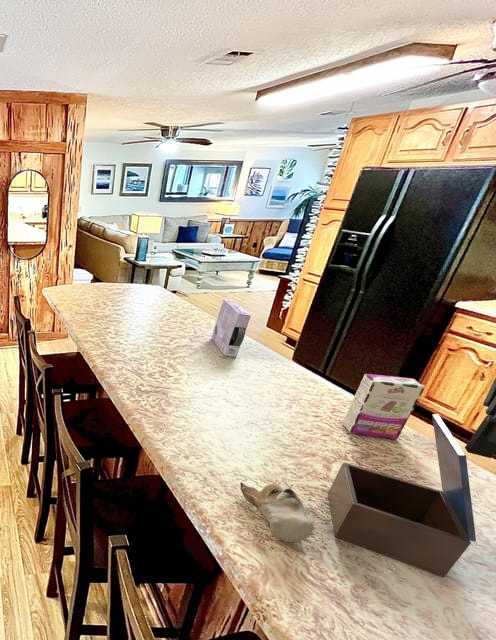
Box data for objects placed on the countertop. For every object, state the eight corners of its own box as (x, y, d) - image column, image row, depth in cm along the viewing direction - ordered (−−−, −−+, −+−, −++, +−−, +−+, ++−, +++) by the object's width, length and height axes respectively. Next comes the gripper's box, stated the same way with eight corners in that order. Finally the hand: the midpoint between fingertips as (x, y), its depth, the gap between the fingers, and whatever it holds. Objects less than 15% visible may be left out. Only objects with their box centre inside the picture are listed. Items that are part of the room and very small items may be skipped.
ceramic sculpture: (276, 512, 69) (244, 460, 82) (262, 547, 72) (233, 492, 86) (342, 521, 67) (298, 467, 81) (324, 557, 71) (285, 499, 84)
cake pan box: (238, 359, 147) (252, 314, 139) (224, 357, 147) (237, 313, 139) (222, 339, 164) (234, 299, 156) (210, 338, 164) (220, 298, 156)
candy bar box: (386, 429, 107) (414, 377, 100) (397, 440, 103) (427, 387, 96) (340, 423, 109) (364, 372, 102) (349, 433, 105) (375, 381, 98)
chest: (334, 536, 75) (352, 503, 71) (327, 492, 85) (343, 461, 81) (444, 577, 68) (471, 543, 64) (421, 523, 78) (444, 491, 74)
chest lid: (458, 455, 60) (466, 455, 60) (431, 414, 71) (438, 413, 70) (469, 541, 64) (476, 541, 63) (442, 489, 74) (448, 489, 74)
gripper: (510, 303, 61) (434, 426, 71) (556, 328, 51) (460, 467, 61) (583, 312, 57) (492, 440, 68) (648, 341, 47) (530, 486, 58)
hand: (477, 452), depth 64 cm, fingers closed
